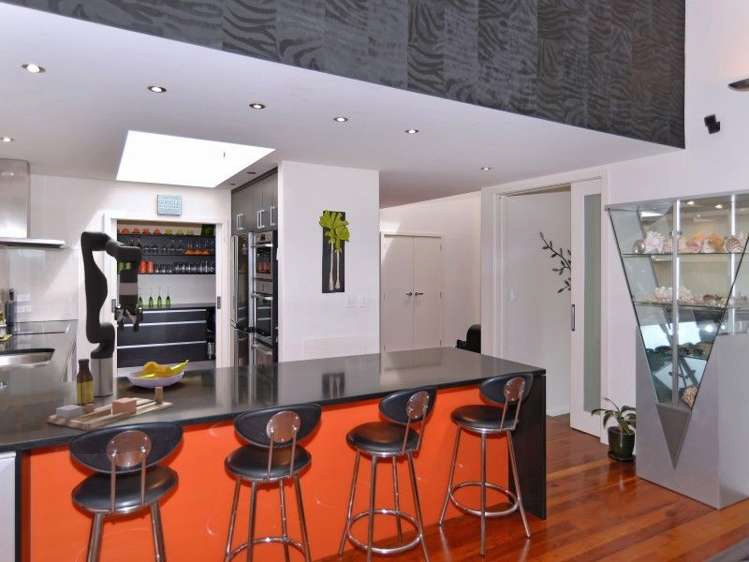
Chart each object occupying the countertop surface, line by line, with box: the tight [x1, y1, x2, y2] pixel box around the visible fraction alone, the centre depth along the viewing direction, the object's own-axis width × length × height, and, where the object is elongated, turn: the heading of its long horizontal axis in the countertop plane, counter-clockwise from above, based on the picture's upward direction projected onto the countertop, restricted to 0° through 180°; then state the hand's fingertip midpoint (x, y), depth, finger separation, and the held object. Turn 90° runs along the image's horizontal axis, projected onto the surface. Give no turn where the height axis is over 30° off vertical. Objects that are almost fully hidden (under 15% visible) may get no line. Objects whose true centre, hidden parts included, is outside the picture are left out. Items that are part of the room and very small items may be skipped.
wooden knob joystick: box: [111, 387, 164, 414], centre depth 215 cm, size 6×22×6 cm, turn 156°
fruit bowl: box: [126, 359, 190, 389], centre depth 261 cm, size 28×27×11 cm
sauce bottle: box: [75, 358, 95, 406], centre depth 221 cm, size 6×6×20 cm
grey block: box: [55, 403, 95, 419], centre depth 200 cm, size 6×13×5 cm, turn 156°
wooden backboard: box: [46, 397, 174, 431], centre depth 209 cm, size 22×40×3 cm, turn 156°
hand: (128, 331), depth 222 cm, fingers open, 8 cm apart
